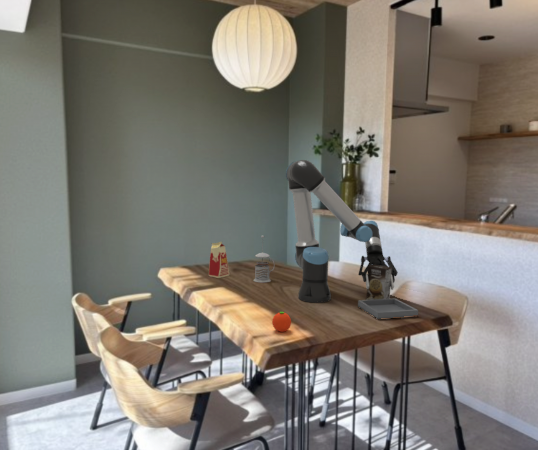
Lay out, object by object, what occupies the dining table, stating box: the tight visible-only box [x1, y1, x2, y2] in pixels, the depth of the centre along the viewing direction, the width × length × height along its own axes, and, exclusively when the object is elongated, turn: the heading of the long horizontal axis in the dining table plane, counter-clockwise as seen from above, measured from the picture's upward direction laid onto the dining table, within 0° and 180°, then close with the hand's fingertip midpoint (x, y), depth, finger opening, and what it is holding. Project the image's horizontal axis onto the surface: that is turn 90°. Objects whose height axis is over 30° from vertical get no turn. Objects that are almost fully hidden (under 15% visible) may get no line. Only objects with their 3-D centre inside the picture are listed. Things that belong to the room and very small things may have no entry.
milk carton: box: [208, 241, 230, 279], centre depth 246 cm, size 9×9×20 cm
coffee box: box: [366, 265, 392, 300], centre depth 200 cm, size 9×6×16 cm
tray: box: [357, 297, 419, 320], centre depth 183 cm, size 18×18×3 cm
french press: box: [253, 235, 276, 283], centre depth 236 cm, size 10×12×25 cm
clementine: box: [271, 311, 292, 333], centre depth 158 cm, size 8×7×7 cm
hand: (380, 287), depth 197 cm, fingers closed on coffee box, 10 cm apart
